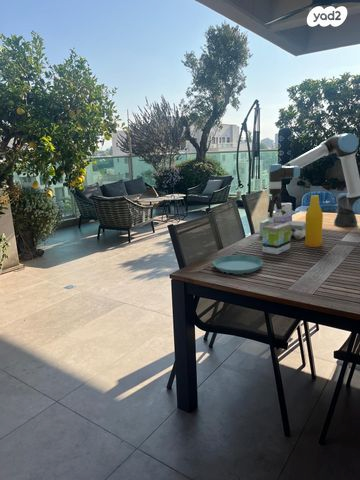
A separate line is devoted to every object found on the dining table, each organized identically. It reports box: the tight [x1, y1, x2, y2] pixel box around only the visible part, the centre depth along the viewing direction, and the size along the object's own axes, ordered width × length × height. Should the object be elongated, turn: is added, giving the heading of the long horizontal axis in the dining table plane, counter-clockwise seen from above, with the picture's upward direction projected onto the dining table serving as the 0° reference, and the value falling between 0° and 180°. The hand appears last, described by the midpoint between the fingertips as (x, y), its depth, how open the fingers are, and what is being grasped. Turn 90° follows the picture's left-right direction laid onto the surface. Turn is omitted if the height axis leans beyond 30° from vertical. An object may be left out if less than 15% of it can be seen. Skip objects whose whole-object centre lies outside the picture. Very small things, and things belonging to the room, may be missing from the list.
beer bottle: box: [304, 194, 324, 248], centre depth 200 cm, size 9×9×29 cm
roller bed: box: [291, 227, 306, 240], centre depth 226 cm, size 13×16×6 cm
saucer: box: [212, 254, 264, 275], centre depth 171 cm, size 24×24×3 cm
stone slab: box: [285, 220, 306, 230], centre depth 225 cm, size 12×14×2 cm
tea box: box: [262, 223, 292, 255], centre depth 196 cm, size 15×10×15 cm
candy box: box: [273, 202, 293, 224], centre depth 263 cm, size 14×6×16 cm, turn 84°
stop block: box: [259, 218, 273, 237], centre depth 237 cm, size 3×16×10 cm, turn 144°
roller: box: [267, 210, 282, 220], centre depth 232 cm, size 5×12×5 cm, turn 144°
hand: (274, 220), depth 233 cm, fingers closed on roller, 12 cm apart
